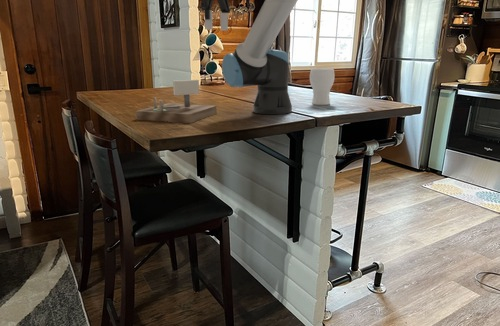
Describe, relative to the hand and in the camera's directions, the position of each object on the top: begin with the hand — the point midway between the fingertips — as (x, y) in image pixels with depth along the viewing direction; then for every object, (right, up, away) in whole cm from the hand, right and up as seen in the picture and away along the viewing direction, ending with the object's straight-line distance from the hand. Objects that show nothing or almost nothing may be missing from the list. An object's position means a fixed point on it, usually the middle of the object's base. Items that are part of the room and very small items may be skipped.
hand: (216, 30), depth 148 cm
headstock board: (-14, -34, -5) cm, 37 cm away
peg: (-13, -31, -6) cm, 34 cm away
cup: (+44, -25, +22) cm, 55 cm away
